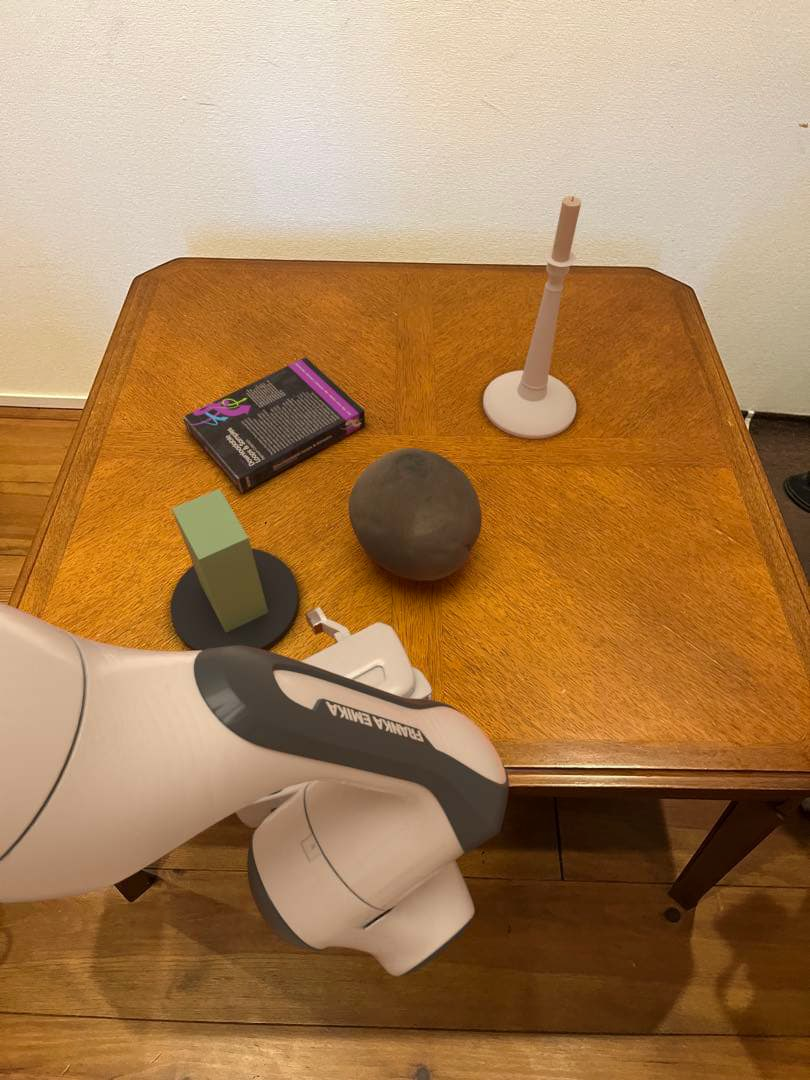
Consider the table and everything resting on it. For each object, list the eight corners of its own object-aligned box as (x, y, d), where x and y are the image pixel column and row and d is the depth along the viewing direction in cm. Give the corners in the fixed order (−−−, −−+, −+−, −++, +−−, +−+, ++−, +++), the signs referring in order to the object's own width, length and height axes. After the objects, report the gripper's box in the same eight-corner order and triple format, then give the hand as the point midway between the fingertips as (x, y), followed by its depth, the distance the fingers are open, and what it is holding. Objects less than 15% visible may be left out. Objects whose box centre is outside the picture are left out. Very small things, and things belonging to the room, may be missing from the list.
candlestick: (470, 382, 105) (495, 173, 80) (554, 367, 107) (603, 159, 82) (501, 446, 97) (538, 238, 73) (590, 429, 99) (655, 221, 75)
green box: (226, 633, 79) (198, 559, 68) (201, 585, 83) (171, 508, 71) (268, 612, 81) (248, 537, 69) (242, 566, 84) (219, 488, 73)
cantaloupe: (447, 497, 92) (455, 409, 80) (493, 587, 84) (510, 506, 72) (339, 526, 89) (331, 441, 77) (376, 623, 81) (373, 544, 69)
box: (308, 374, 106) (186, 432, 98) (306, 355, 103) (180, 412, 95) (366, 429, 99) (240, 495, 92) (366, 410, 96) (235, 476, 89)
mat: (232, 686, 77) (230, 681, 76) (146, 610, 82) (143, 605, 81) (325, 598, 83) (324, 592, 82) (239, 533, 88) (238, 527, 87)
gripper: (444, 687, 62) (364, 569, 69) (215, 816, 55) (152, 671, 62) (440, 717, 67) (366, 604, 74) (230, 837, 60) (170, 701, 67)
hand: (266, 635), depth 68 cm, fingers open, 8 cm apart
